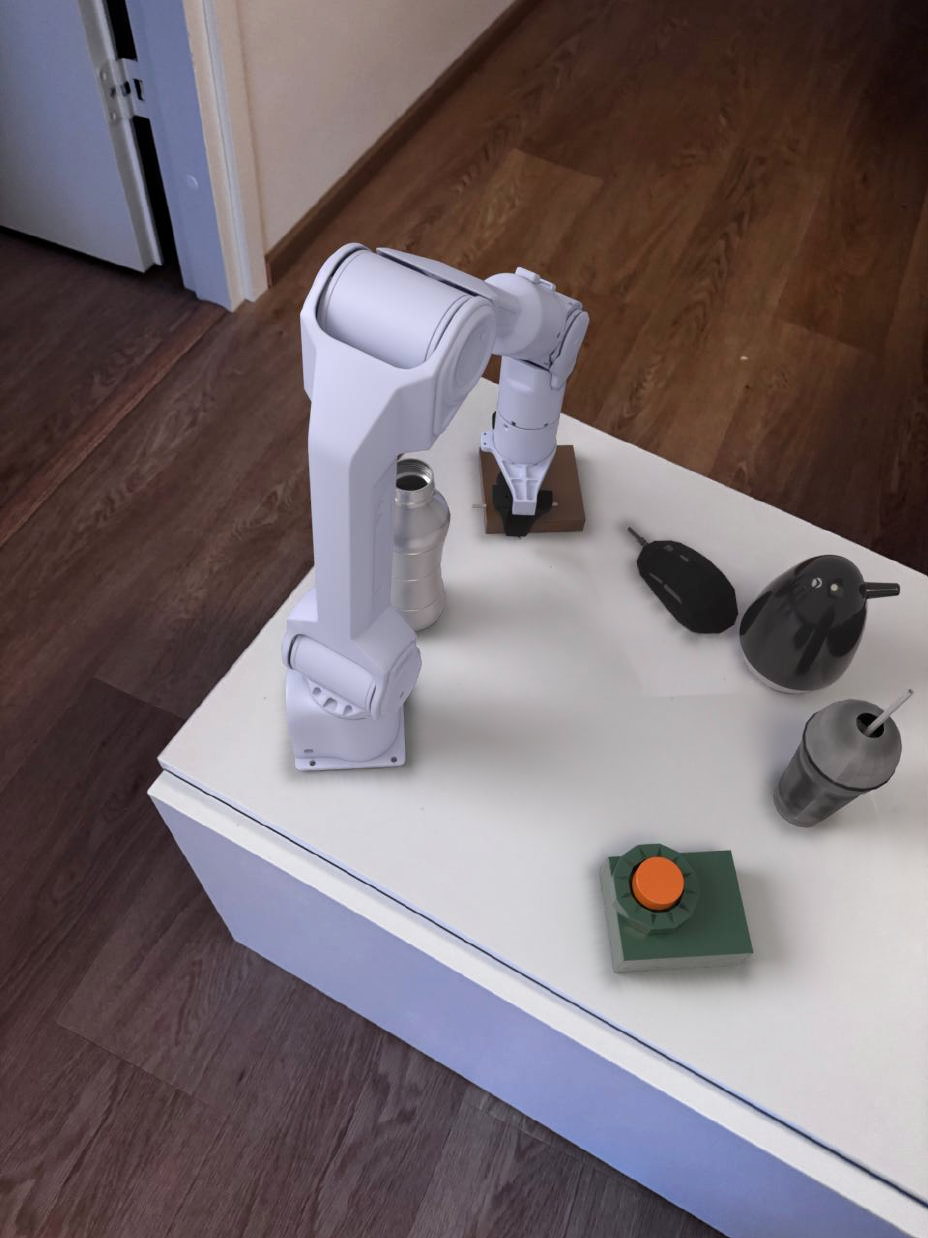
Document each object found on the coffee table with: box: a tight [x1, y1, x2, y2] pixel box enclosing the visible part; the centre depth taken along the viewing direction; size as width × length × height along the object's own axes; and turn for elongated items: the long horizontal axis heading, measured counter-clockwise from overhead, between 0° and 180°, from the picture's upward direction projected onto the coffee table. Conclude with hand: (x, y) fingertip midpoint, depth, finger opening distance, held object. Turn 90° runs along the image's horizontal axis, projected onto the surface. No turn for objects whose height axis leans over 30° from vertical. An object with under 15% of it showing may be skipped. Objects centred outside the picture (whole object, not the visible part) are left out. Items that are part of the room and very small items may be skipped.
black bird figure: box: [738, 554, 901, 694], centre depth 85 cm, size 10×10×15 cm
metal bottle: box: [390, 457, 452, 632], centre depth 85 cm, size 6×7×20 cm
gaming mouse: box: [627, 526, 739, 635], centre depth 95 cm, size 6×15×4 cm, turn 34°
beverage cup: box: [773, 687, 915, 828], centre depth 76 cm, size 7×7×20 cm
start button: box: [632, 857, 684, 910], centre depth 73 cm, size 4×4×2 cm
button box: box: [599, 843, 754, 974], centre depth 76 cm, size 10×8×6 cm
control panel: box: [472, 444, 587, 541], centre depth 100 cm, size 11×12×2 cm
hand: (515, 503), depth 98 cm, fingers open, 7 cm apart
